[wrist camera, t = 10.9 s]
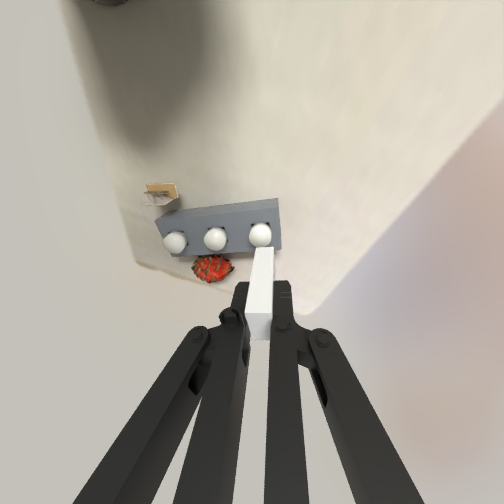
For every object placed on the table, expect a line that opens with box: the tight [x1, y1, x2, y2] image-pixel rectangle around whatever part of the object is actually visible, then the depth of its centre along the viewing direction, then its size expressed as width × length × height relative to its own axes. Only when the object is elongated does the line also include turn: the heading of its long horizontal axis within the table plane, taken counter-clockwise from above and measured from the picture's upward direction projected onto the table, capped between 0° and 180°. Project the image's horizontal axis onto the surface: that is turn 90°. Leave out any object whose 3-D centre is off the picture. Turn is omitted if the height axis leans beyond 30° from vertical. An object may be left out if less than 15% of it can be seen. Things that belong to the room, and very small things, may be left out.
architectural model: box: [140, 184, 180, 205], centre depth 40 cm, size 3×7×7 cm, turn 93°
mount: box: [155, 198, 281, 257], centre depth 43 cm, size 10×28×6 cm, turn 99°
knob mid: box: [204, 227, 227, 251], centre depth 42 cm, size 5×5×8 cm
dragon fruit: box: [191, 254, 234, 283], centre depth 50 cm, size 8×8×12 cm
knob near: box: [249, 222, 272, 247], centre depth 40 cm, size 5×5×8 cm
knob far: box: [163, 231, 187, 254], centre depth 44 cm, size 5×5×8 cm
